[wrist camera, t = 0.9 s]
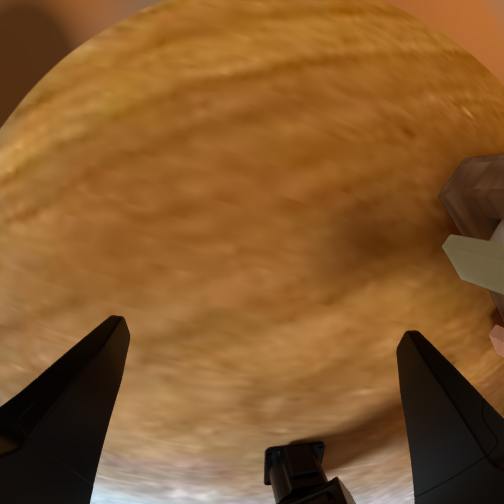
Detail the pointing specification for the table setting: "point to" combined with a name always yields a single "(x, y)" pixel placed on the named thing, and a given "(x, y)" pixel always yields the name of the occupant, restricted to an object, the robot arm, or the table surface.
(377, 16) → the table surface
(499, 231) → the sage button
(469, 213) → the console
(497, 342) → the pink block with rod
